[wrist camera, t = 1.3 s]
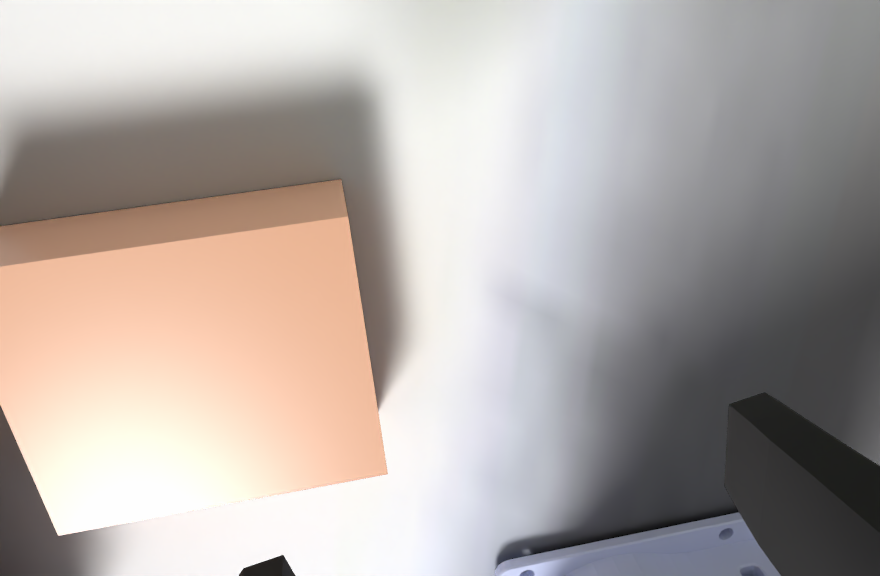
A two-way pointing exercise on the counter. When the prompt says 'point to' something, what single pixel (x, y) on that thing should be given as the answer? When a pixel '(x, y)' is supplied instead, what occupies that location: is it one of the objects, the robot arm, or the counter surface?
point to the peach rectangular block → (187, 355)
